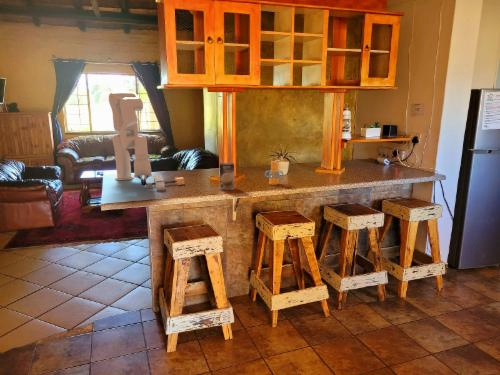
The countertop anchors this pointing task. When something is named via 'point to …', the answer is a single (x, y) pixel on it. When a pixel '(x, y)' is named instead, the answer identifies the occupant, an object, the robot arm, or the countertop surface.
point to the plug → (177, 181)
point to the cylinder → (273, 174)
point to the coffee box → (226, 176)
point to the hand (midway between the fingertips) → (143, 185)
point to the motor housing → (159, 182)
